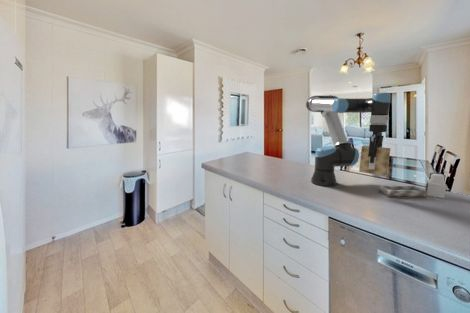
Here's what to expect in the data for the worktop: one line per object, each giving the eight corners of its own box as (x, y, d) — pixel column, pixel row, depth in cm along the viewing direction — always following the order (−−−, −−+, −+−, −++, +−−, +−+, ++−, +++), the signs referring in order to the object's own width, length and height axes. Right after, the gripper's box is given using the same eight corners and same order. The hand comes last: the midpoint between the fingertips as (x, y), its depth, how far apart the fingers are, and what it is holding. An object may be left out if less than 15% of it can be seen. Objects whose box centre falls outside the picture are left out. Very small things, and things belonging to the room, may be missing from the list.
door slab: (359, 171, 118) (361, 146, 115) (361, 170, 121) (364, 145, 118) (384, 176, 109) (388, 149, 106) (387, 174, 112) (390, 148, 109)
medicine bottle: (425, 192, 119) (428, 171, 117) (442, 194, 115) (446, 173, 113) (425, 195, 114) (429, 173, 112) (444, 198, 110) (448, 176, 107)
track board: (389, 197, 112) (389, 190, 112) (379, 191, 121) (379, 185, 121) (425, 197, 111) (426, 191, 110) (413, 192, 120) (414, 186, 119)
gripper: (381, 124, 102) (375, 172, 106) (392, 123, 112) (386, 166, 117) (364, 124, 107) (359, 169, 112) (375, 123, 118) (371, 164, 123)
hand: (373, 168), depth 114 cm, fingers closed on door slab, 4 cm apart
